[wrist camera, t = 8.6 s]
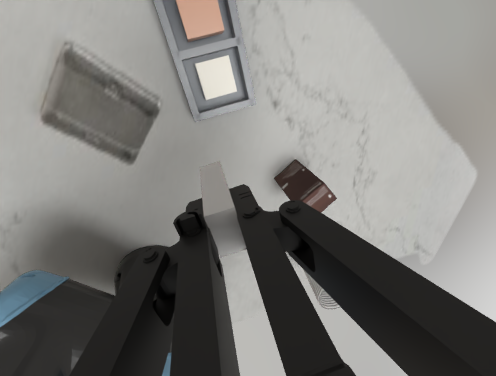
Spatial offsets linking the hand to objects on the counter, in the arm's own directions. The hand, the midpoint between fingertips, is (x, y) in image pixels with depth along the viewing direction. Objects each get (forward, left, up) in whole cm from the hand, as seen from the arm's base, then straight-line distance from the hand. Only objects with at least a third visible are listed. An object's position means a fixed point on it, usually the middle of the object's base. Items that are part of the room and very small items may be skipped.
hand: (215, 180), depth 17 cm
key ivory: (+4, +6, -23) cm, 24 cm away
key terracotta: (+4, +14, -22) cm, 26 cm away
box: (+14, -15, -25) cm, 32 cm away
